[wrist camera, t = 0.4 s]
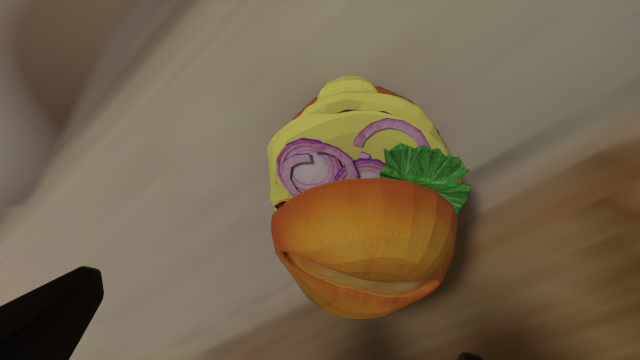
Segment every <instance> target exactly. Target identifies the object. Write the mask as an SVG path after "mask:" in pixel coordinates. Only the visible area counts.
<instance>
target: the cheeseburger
mask: <svg viewBox="0 0 640 360" xmlns="http://www.w3.org/2000/svg"><path fill="white" fill-rule="evenodd" d="M267 153H268V163H269V172H270V181H271V192H270V200H271V202H272V205H273V207H274V209H275V212H274V214H273V215H272V221H271V230H272V238H273V242H274V247H275V251H276V254H277V256H278V257H279V259H280V260H281V262H282V263H283V264H284V266H285V267H286V268H287V270H288V271H289V272H290V274H291V275H292V277H293V278H294V280H295V281H296V282H297V284H298V285H299V287H300V288H301V289H302V291H303V292H304V294H305V295H306V296H307V297H308V298H309V299H310V300H311V301H312V302H313V303H315V304H316V305H317V306H318V307H319V308H321V309H323V310H325V311H327V312H329V313H331V314H334V315H336V316H339V317H343V318H350V319H372V318H376V317H381V316H385V315H387V314H389V313H392V312H394V311H396V310H399V309H401V308H403V307H406V306H408V305H410V304H412V303H415V302H417V301H418V300H420V299H422V298H424V297H425V296H427V295H428V294H430V293H431V292H433V291H434V290H435V289H436V288H437V287H438V286H439V285H440V284H441V283H442V281H443V279H444V277H445V274H446V272H447V269H448V267H449V265H450V262H451V260H452V257H453V252H454V247H455V241H456V236H457V230H458V218H457V217H458V213H459V209H460V208H461V207H462V206H463V204H464V203H465V202H466V201H467V200H468V192H469V190H470V187H471V185H466V184H461V177H463V176H464V175H465V174H467V173H468V172H469V171H470V170H467V169H465V167H464V165H463V163H462V162H461V160H460V158H459V157H452V156H449V151H448V150H447V148H446V147H445V145H444V143H443V142H442V140H441V138H440V135H439V131H438V130H437V129H436V128H435V127H434V125H433V123H432V121H431V120H430V119H429V118H428V117H427V115H426V114H425V113H424V112H423V110H422V109H421V108H420V107H419V106H417V105H415V104H414V103H413V102H412V101H411V100H409V99H406V98H404V97H402V96H400V95H398V94H395V93H393V92H391V91H389V90H387V89H384V88H382V87H376V86H375V85H374V84H373V83H372V82H370V81H369V80H367V79H365V78H364V77H352V76H343V77H341V78H338V79H335V80H333V81H330V82H328V83H327V84H326V85H325V86H324V87H323V89H322V90H321V91H320V92H319V94H318V97H315V98H314V99H313V100H312V101H311V102H310V103H309V104H308V105H307V106H306V107H305V108H304V109H303V110H301V111H300V112H299V113H298V114H297V115H296V116H295V117H294V118H293V119H292V120H291V122H289V123H288V124H287V125H286V126H284V127H283V128H282V129H281V130H280V131H279V132H277V133H276V134H275V135H274V136H273V137H272V139H271V141H270V143H269V145H268V147H267Z"/></svg>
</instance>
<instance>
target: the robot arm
mask: <svg viewBox="0 0 640 360" xmlns="http://www.w3.org/2000/svg"><path fill="white" fill-rule="evenodd" d="M103 295H104V290H103V283H102V275H101V272H100V270H99V269H96V268H91V267H87V266H82V267H79V268H77V269H75V270H73V271H71V272H69V273H67V274H65V275H63V276H61V277H59V278H57V279H55V280H53V281H51V282H49V283H47V284H45V285H43V286H41V287H38V288H36V289H34V290H32V291H30V292H28V293H26V294H24V295H22V296H20V297H18V298H16V299H14V300H12V301H10V302H8V303H6V304H4V305H2V306H0V360H69V358H70V357H71V355H72V353H73V352H74V350H75V348H76V346H77V344H78V343H79V341H80V339H81V337H82V336H83V334H84V332H85V330H86V329H87V327H88V325H89V323H90V321H91V320H92V318H93V316H94V314H95V313H96V311H97V309H98V307H99V305H100V304H101V302H102V299H103ZM457 360H483V359H482V358H481V357H480V356H479V355H476V354H471V353H467V352H463V353H461V354H460V355H459V357H458V359H457Z"/></svg>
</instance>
